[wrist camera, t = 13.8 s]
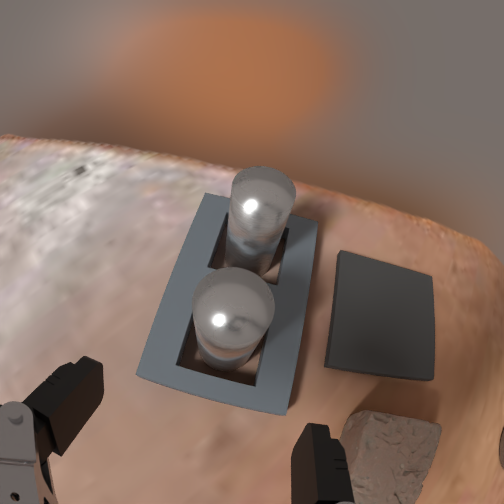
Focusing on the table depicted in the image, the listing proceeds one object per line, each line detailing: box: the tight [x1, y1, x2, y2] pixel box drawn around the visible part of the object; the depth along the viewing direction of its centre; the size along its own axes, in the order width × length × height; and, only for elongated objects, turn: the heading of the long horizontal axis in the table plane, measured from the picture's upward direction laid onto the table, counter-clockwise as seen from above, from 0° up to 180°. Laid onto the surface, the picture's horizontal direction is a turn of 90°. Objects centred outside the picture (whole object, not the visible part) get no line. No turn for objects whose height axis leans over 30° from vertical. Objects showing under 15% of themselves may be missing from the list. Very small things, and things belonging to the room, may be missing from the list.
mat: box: [324, 250, 435, 381], centre depth 27 cm, size 12×12×1 cm
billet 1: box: [225, 166, 296, 277], centre depth 25 cm, size 5×5×10 cm
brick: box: [339, 410, 442, 504], centre depth 17 cm, size 16×8×5 cm, turn 160°
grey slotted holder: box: [136, 193, 318, 415], centre depth 26 cm, size 12×19×2 cm, turn 167°
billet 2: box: [192, 267, 275, 372], centre depth 21 cm, size 5×5×10 cm
